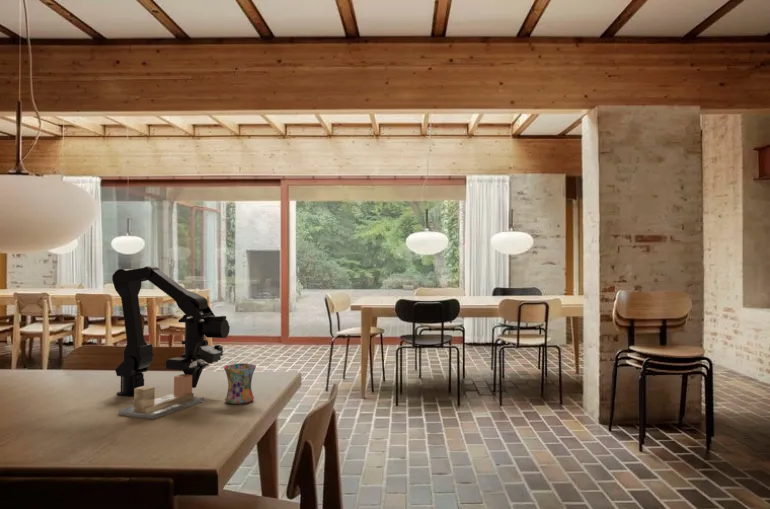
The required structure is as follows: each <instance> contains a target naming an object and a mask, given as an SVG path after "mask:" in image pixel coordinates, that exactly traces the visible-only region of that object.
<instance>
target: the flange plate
mask: <svg viewBox="0 0 770 509" xmlns="http://www.w3.org/2000/svg"><path fill="white" fill-rule="evenodd" d="M174 398H177V397H174V393H169V394H166V395H163V396H160V397H157V398H156V397H155V398H154V405H155V404H158V403H161V402H164V401H167V400H171V399H174ZM204 399H205V398H204V396H196V395H194V397H193V398H190V399H187V400H184V401H181V402H178V403H175V404H172V405H169V406H166V407H163V408H160V409H157V410H154V411H151V412H148V413H145V412H140V411H134V404H133V405H131V406H127V407H125V408H124V407H123V408H121V409H118V414H117V415H120V416H126V417H133V418H141V419H147V420H155V419H158V418H161V417H163V416H164V417H165V416H166V415H170V414H172V413H175V412H178V411H180V410H183V409H186V408H189V407H191V406H195V405H197V404H200V403H202V402H203V403H204Z"/></svg>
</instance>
